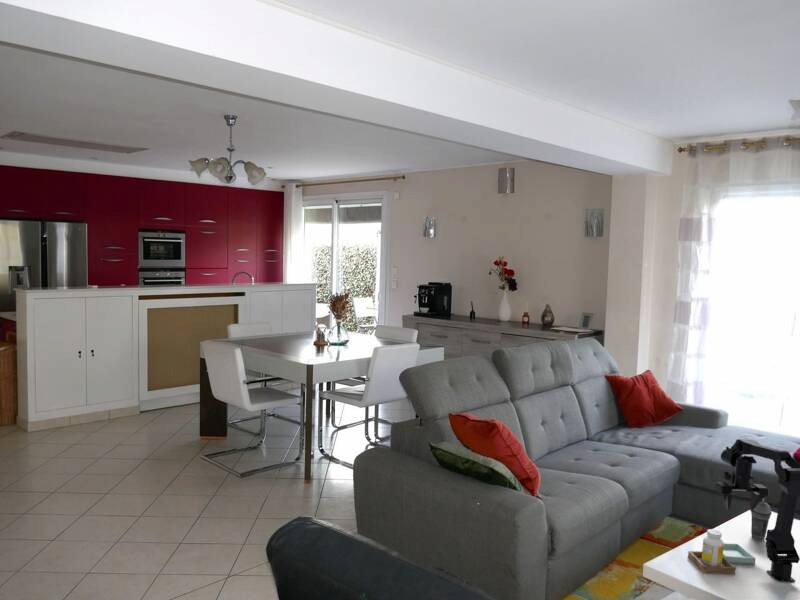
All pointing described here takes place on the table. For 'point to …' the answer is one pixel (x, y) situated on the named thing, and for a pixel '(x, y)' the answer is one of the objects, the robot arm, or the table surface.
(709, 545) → the supplement bottle
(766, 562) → the table surface
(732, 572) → the brown wooden square frame
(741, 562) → the tray
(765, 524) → the beverage cup
